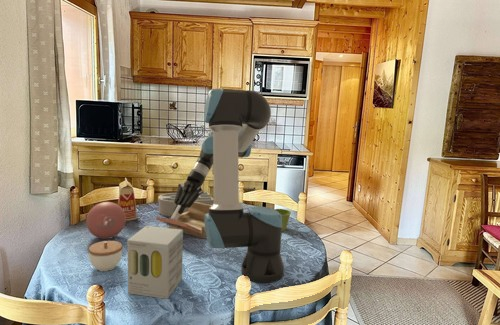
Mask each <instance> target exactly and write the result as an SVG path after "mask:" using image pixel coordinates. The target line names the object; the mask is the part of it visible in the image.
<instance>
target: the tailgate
mask: <svg viewBox="0 0 500 325" xmlns="http://www.w3.org/2000/svg"><path fill="white" fill-rule="evenodd" d="M169 219H170V218H168V219H167V218H164V217H160V216H156V218H155V220H157V221H158V222H162V223H164V224H166V225H167V226H168V227H169V226H173V227H177V228H183V229H186V230H190V231H194V232H198V233H201V230H199V229H197V228H195V227H192V226H190V225H188V224H185V223H181V222H177V221H173V220H169Z"/></svg>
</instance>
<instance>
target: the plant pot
mask: <svg viewBox="0 0 500 325" xmlns="http://www.w3.org/2000/svg"><path fill="white" fill-rule="evenodd" d="M273 210H276V211H278V212H279V213H280V214H281V215H282V226H283V227H282V232H283V231H284V232H285V231H286V230H287V227H288V224H289V223H288V222H289V218H290V216H291V215H292V211H290V210H289V209H285V208H275V209H274V208H273Z"/></svg>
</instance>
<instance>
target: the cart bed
mask: <svg viewBox="0 0 500 325" xmlns="http://www.w3.org/2000/svg"><path fill="white" fill-rule="evenodd" d="M211 206H212V205H209V204H204V203H199V202H194V203H193V204H192V205H191V207H190V208H188V211H187V212H185V213H182V214H180V216H179V218H178V220H177V222H181V223H185V224H188V225H190V226H192V227H195V228H197V229H199V230H201V233H198V232H194V231H190V230H186V229H183V228H177V227H173V226H169V225H168V228H171V229H181V230H183V234H186V235H189V236H193V237H197V238H201V239H207V236H206V231H205V223H204V220H205V219H204V216H205V214H207V213H209V208H210V207H211ZM168 219H169V220H173V219H172V218H171V217H170V218H168ZM173 221H174V220H173Z"/></svg>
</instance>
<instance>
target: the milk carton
mask: <svg viewBox="0 0 500 325" xmlns="http://www.w3.org/2000/svg"><path fill="white" fill-rule="evenodd" d="M118 189H119V190H118V201H117V205H119V206H120V207H121V208H122V209H123V211H124V213H125V216H126V222H127V221H128V222H129V221H133V220H137V218H138V214H137V204H136V197H135V191H134V187H133V185H132V184H131V182H129V181H128V179H127V177H125V178H124V181H122V182H120V183H119V185H118Z"/></svg>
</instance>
